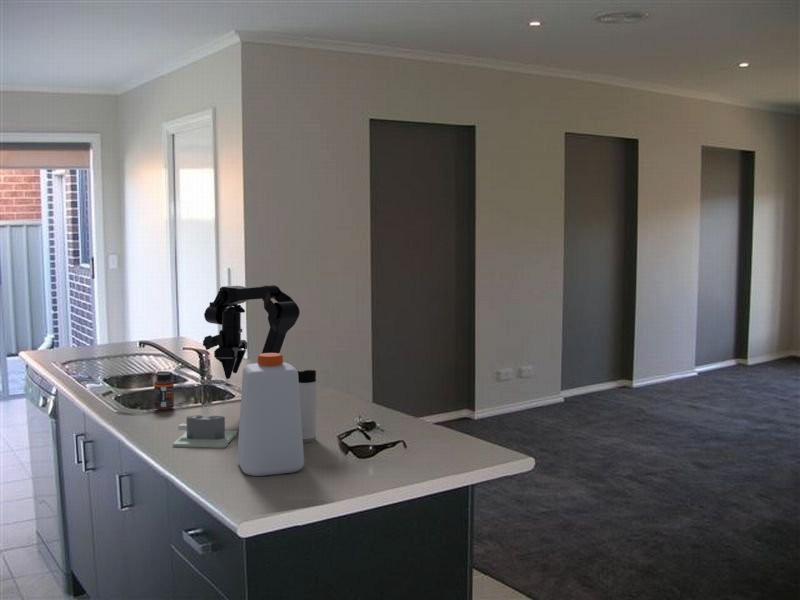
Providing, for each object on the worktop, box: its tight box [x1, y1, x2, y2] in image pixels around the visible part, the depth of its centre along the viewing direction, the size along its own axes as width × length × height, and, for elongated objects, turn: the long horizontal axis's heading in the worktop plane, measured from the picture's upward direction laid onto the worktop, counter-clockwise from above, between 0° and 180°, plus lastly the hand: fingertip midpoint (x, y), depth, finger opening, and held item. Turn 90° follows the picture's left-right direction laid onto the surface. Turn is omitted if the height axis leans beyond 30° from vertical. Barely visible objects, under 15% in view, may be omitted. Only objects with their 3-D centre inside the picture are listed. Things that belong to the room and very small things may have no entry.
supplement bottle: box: [153, 372, 175, 411], centre depth 250 cm, size 6×6×11 cm
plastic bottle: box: [236, 353, 305, 477], centre depth 191 cm, size 15×15×28 cm
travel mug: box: [297, 369, 317, 444], centre depth 215 cm, size 6×7×20 cm
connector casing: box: [177, 414, 226, 439], centre depth 215 cm, size 12×4×6 cm, turn 89°
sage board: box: [172, 430, 238, 449], centre depth 215 cm, size 14×14×1 cm
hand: (231, 375), depth 244 cm, fingers open, 9 cm apart
